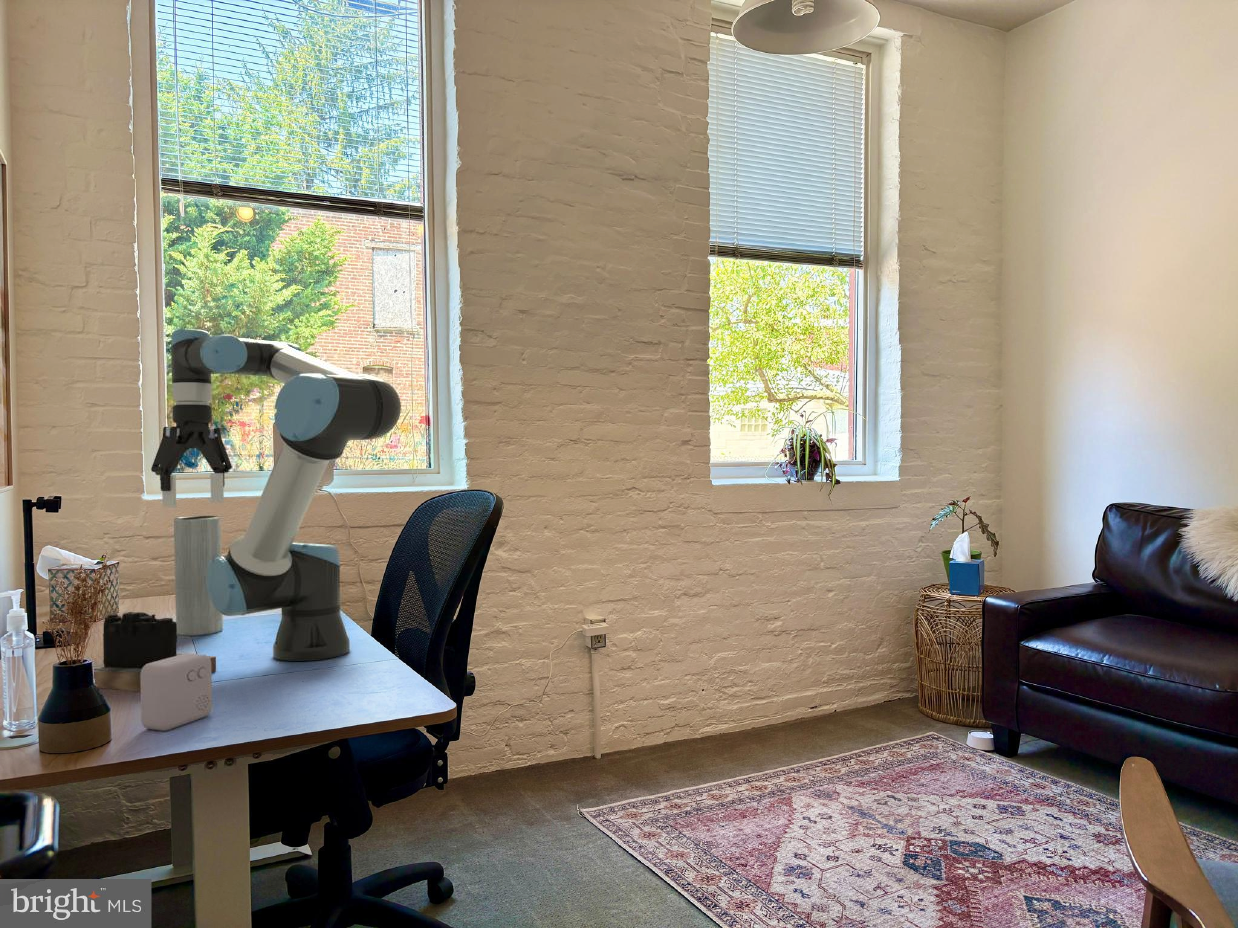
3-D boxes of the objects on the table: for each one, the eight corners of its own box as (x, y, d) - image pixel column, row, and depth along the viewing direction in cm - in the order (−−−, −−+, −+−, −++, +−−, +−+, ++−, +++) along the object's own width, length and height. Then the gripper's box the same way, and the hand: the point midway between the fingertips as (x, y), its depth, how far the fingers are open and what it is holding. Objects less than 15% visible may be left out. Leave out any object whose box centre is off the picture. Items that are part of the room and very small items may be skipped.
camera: (202, 657, 172) (201, 605, 172) (163, 670, 162) (162, 615, 162) (139, 654, 175) (138, 603, 175) (97, 667, 165) (95, 613, 165)
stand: (216, 670, 174) (215, 655, 174) (146, 692, 159) (146, 675, 159) (152, 665, 179) (152, 650, 179) (80, 685, 164) (79, 668, 164)
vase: (206, 636, 207) (203, 518, 206) (166, 635, 208) (164, 518, 208) (231, 627, 217) (229, 515, 216) (193, 627, 218) (191, 515, 218)
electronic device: (164, 734, 135) (162, 667, 135) (141, 730, 137) (140, 665, 137) (216, 715, 144) (215, 653, 144) (194, 712, 146) (193, 651, 146)
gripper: (219, 407, 202) (221, 501, 203) (129, 402, 178) (132, 509, 179) (247, 406, 200) (249, 501, 200) (160, 401, 176) (162, 509, 177)
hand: (194, 505), depth 190 cm, fingers open, 13 cm apart
